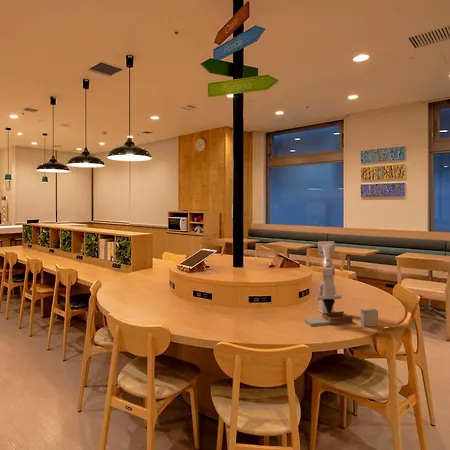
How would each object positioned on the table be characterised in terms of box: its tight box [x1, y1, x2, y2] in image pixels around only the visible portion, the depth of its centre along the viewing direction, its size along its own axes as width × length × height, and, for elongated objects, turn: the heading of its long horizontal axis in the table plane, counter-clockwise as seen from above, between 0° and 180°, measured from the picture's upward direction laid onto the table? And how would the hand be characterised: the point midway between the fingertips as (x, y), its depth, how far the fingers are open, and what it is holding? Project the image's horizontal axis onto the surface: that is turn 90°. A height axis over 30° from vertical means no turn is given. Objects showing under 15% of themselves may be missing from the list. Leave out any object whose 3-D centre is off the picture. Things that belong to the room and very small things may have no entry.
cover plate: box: [304, 317, 331, 327], centre depth 201 cm, size 8×11×2 cm
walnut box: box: [322, 310, 353, 326], centre depth 203 cm, size 10×13×4 cm
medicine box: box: [360, 308, 379, 328], centre depth 195 cm, size 8×4×9 cm, turn 92°
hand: (328, 312), depth 202 cm, fingers closed
